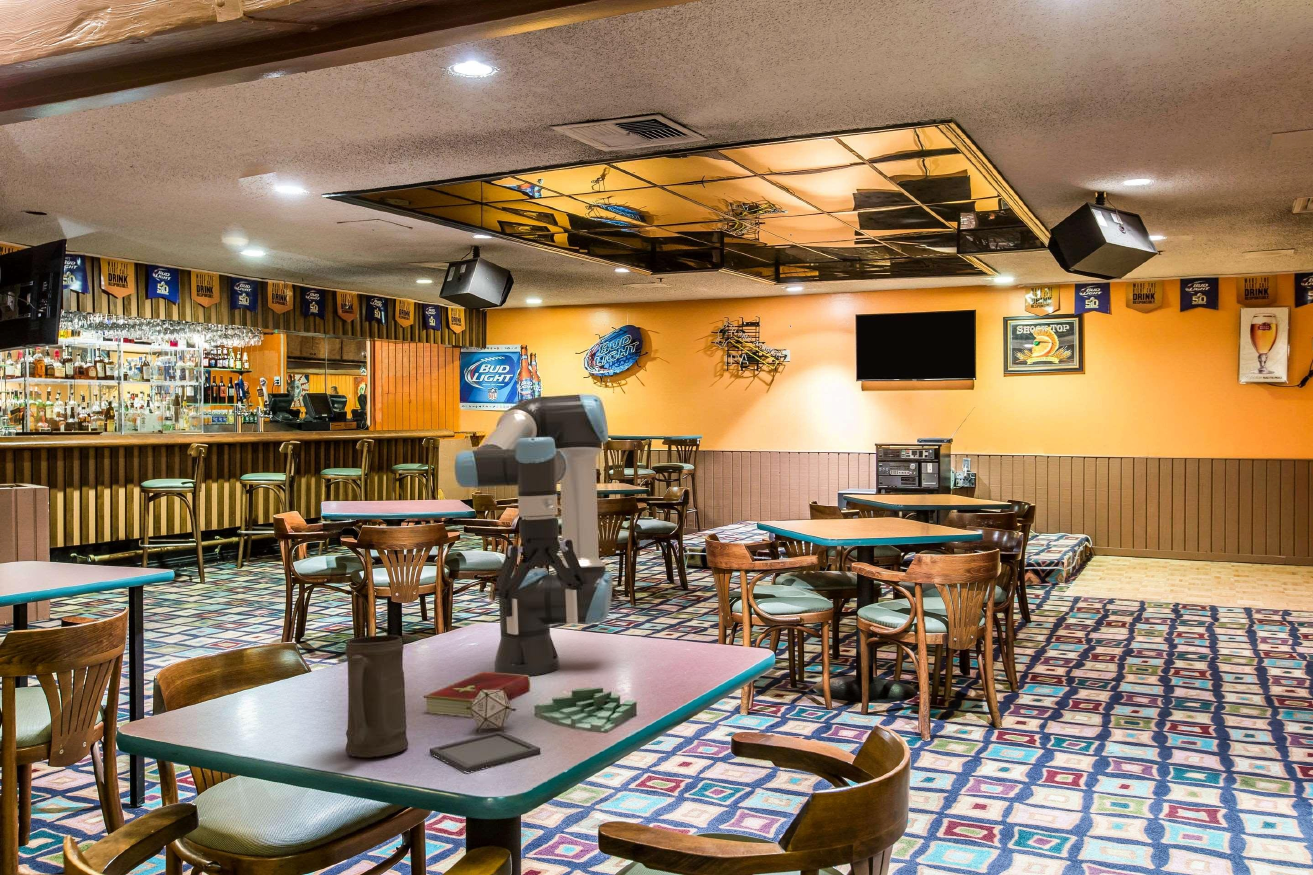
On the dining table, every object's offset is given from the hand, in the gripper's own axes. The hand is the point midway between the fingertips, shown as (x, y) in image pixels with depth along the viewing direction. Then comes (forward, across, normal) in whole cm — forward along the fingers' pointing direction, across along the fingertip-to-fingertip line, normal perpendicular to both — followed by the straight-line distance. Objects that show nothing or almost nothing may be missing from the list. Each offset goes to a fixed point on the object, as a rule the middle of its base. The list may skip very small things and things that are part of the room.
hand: (543, 628), depth 191 cm
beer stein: (+18, -32, +6) cm, 37 cm away
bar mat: (+18, -18, -8) cm, 27 cm away
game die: (+18, -10, +4) cm, 21 cm away
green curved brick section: (+19, +7, -2) cm, 20 cm away
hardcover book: (+18, -1, +23) cm, 30 cm away
